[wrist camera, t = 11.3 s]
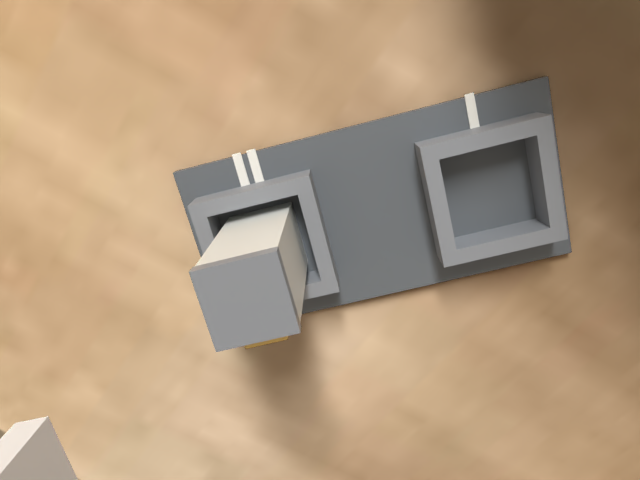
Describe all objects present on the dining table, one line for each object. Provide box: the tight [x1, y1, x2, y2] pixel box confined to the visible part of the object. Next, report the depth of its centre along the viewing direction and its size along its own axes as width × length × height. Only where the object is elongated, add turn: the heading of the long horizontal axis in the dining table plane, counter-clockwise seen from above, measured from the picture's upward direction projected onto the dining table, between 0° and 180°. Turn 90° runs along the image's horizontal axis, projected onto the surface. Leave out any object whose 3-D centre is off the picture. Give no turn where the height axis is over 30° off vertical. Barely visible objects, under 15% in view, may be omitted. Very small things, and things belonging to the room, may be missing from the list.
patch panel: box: [173, 76, 572, 314], centre depth 37 cm, size 12×25×3 cm, turn 104°
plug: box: [189, 202, 308, 352], centre depth 33 cm, size 5×4×11 cm
